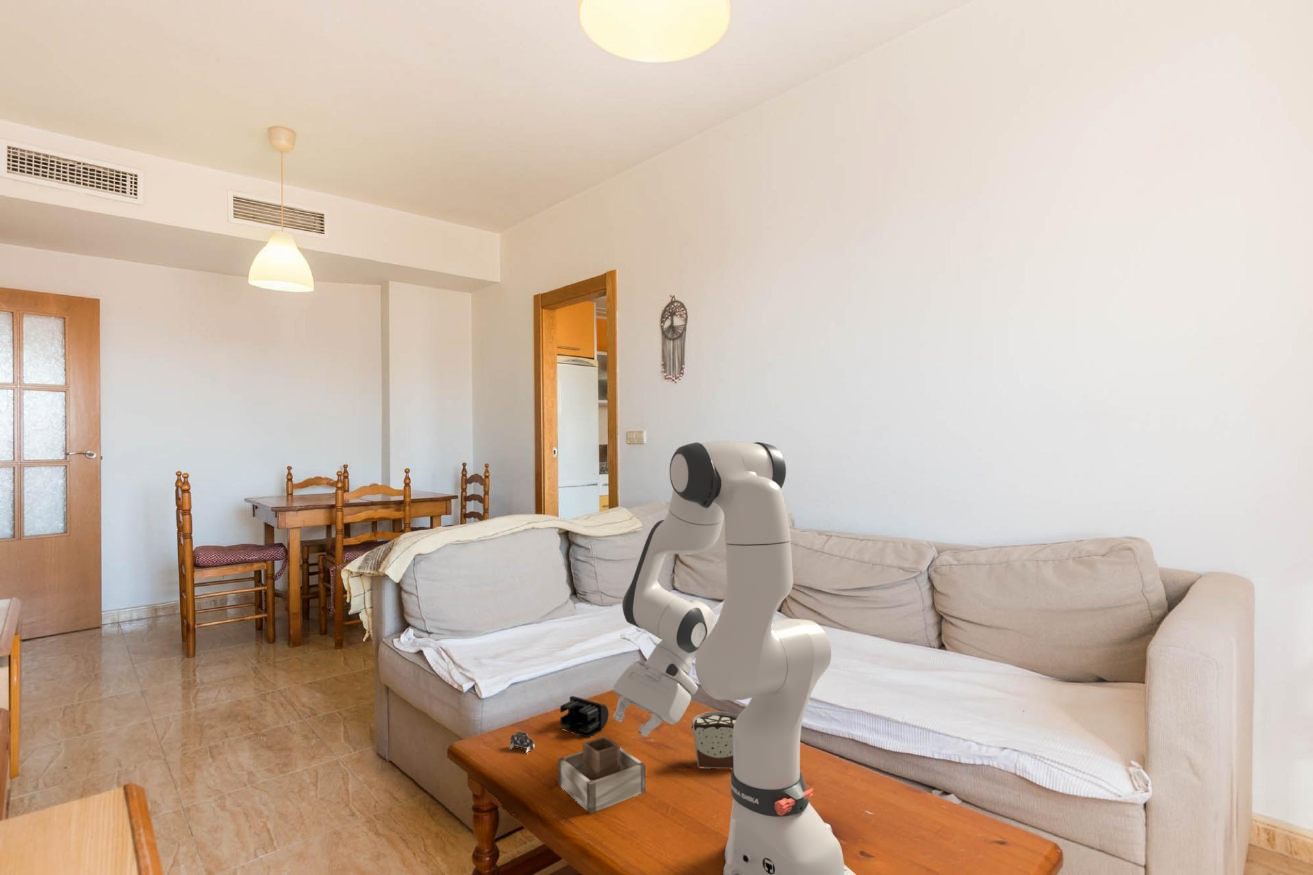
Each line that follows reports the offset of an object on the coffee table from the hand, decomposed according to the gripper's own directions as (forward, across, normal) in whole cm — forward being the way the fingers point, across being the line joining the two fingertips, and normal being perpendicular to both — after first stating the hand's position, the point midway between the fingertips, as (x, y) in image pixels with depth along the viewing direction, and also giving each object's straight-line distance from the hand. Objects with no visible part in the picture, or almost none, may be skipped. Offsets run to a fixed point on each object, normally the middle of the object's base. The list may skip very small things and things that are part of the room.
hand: (628, 727), depth 138 cm
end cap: (+4, -27, +11) cm, 30 cm away
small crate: (+12, 0, +2) cm, 12 cm away
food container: (-6, +6, +22) cm, 23 cm away
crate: (+12, 0, +3) cm, 13 cm away
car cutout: (+15, -23, +1) cm, 27 cm away
